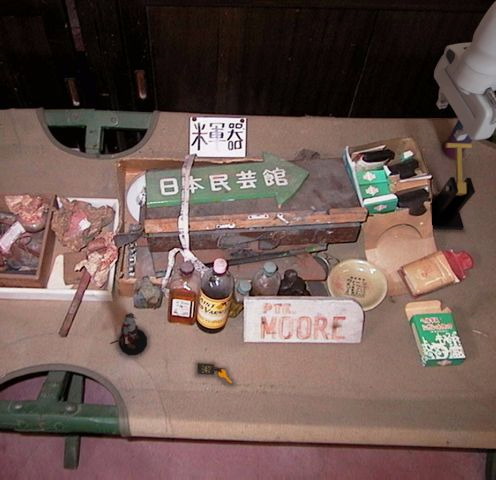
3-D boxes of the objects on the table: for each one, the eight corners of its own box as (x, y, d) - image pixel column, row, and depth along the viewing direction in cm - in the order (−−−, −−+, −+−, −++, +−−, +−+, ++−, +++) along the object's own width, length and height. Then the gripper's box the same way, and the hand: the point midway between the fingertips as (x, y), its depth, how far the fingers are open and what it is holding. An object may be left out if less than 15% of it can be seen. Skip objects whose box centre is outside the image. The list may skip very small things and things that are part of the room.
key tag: (195, 373, 117) (196, 372, 117) (199, 360, 119) (199, 359, 118) (231, 383, 116) (231, 383, 116) (234, 371, 118) (235, 370, 117)
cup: (466, 146, 152) (492, 108, 139) (462, 163, 148) (489, 126, 136) (442, 139, 153) (466, 100, 140) (437, 155, 150) (462, 117, 137)
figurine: (142, 359, 119) (138, 335, 106) (112, 351, 120) (104, 326, 107) (150, 332, 123) (147, 305, 110) (121, 324, 124) (114, 297, 111)
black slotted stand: (419, 197, 142) (439, 167, 131) (453, 198, 142) (476, 168, 131) (427, 228, 137) (448, 200, 126) (461, 230, 137) (486, 201, 126)
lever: (444, 144, 133) (448, 141, 130) (468, 145, 133) (473, 142, 130) (444, 194, 131) (449, 193, 129) (469, 195, 131) (474, 193, 129)
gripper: (520, 108, 98) (484, 156, 110) (472, 37, 109) (444, 88, 121) (488, 112, 98) (455, 160, 110) (443, 40, 108) (417, 91, 120)
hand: (449, 121), depth 115 cm, fingers open, 8 cm apart
